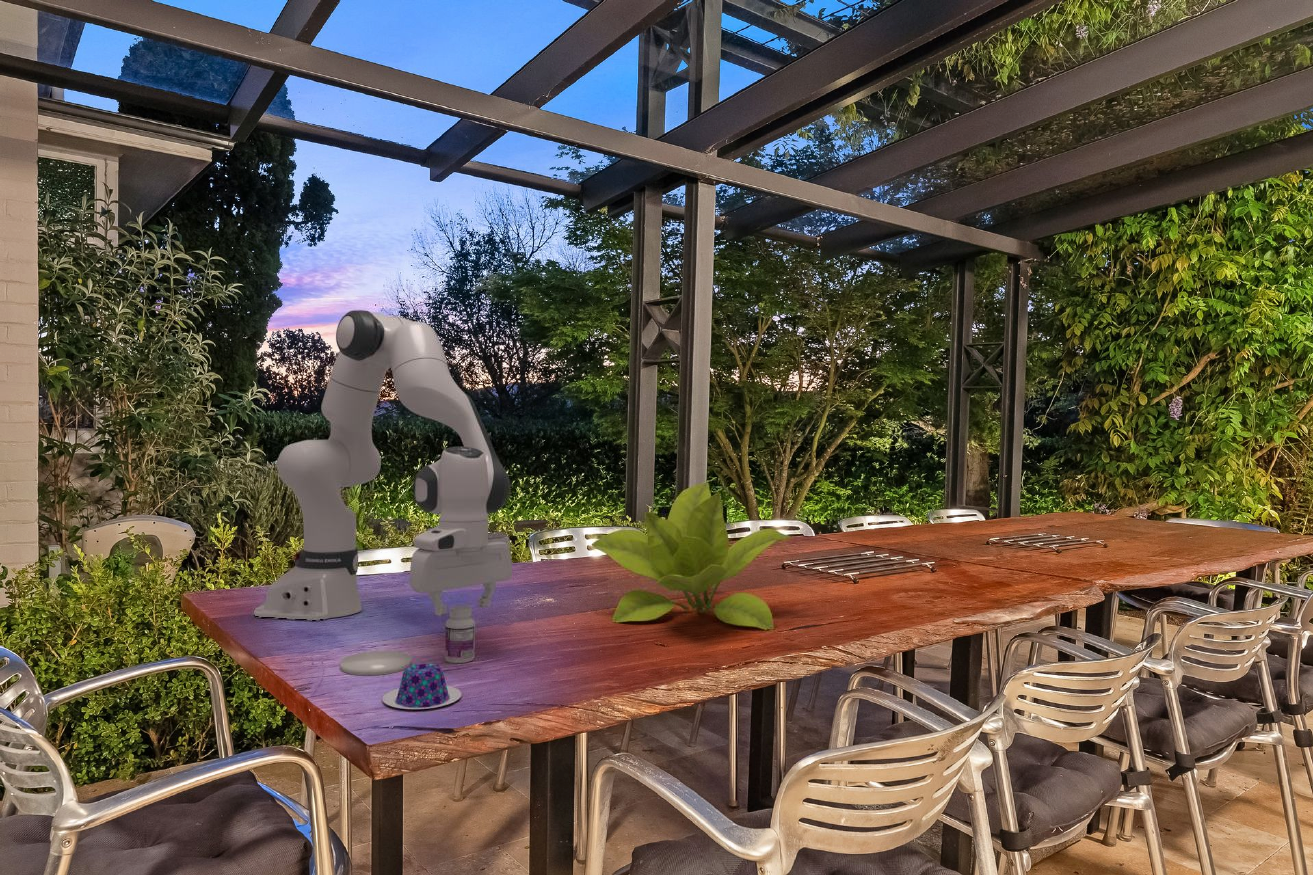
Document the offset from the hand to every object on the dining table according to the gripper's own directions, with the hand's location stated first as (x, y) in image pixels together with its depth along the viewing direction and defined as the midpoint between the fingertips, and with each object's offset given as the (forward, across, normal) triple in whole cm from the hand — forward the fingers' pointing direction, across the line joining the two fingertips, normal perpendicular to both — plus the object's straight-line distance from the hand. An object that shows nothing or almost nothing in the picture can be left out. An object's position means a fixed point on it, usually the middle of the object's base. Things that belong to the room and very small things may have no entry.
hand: (463, 610), depth 154 cm
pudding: (+10, +17, +14) cm, 24 cm away
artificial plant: (+10, -56, +7) cm, 58 cm away
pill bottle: (+9, 0, 0) cm, 9 cm away
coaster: (+9, +13, -7) cm, 17 cm away
